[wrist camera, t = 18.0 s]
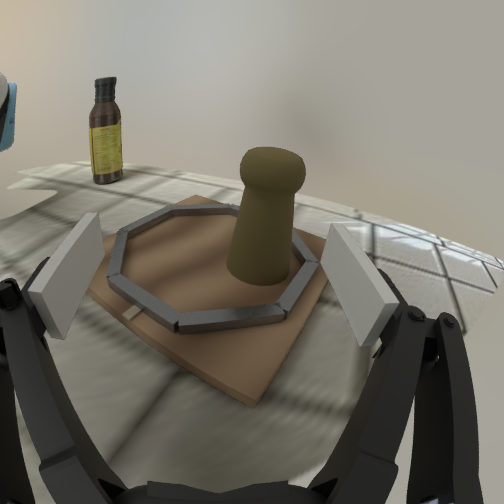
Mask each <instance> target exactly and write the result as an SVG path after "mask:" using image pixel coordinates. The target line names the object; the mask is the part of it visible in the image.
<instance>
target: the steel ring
mask: <svg viewBox="0 0 504 504" xmlns="http://www.w3.org/2000/svg"><path fill="white" fill-rule="evenodd" d="M239 209H240V206H237V205H234V204H232V205H230V204H197V205H171V206H170V207H168V206H167V207H164V208H162V209H160V210H158V211H156V212H154V213H152V214H150V215H148V216H145V217H143V218H141V219H139V220H137V221H135V222H133V223H131V224H129V225H127V226H125V227H123V228H121V229H119V230H120V231H118V232H117V235H116V239H115V242H114V246H113V250H112V254H111V258H110V262H109V266H108V270H107V274H106V278H107V282H108V285H109V288H110V289H112V290H113V291H114V292H115V293H117V294H118V295H119V296H121V297H122V298H123V299H125V300H126V301H127V302H129V303H130V304H132V305H135V306H137V307H138V308H139V309H141V312H143V313H144V314H146V315H147V316H149V317H150V318H151V319H153V320H154V321H156V322H157V323H159V324H160V325H162V326H163V327H165V328H166V329H168V330H169V331H171V332H173V333H174V334H175V333H176V332H177V331H178V330H179V332H180V335H186V334H197V333H207V332H216V331H225V330H234V329H241V328H249V327H256V326H263V325H270V324H277V323H282V321H283V319H284V320H287V318H288V317H289V315H290V313H291V312H292V310H293V309H294V307H295V306H296V304H297V302H298V301H299V299H300V298H301V296H302V295H303V293H304V291H305V290H306V288H307V287H308V285H309V283H310V282H311V280H312V278H313V277H314V275H315V273H316V272H317V268H318V265H319V263H318V260H317V259H316V257H315V256H314V255H313V253H312V252H311V251H310V250H309V248H308V247H307V246H306V245H305V243H304V242H303V241H302V239H301V238H300V237H299V236H298V234H297V233H296V232H295V231H294V229H293V230H292V245H291V250H292V252H293V253H294V255H295V256H296V258H297V259H298V261H299V262H300V263H301V265H302V268H301V269H300V270H299V272H298V273H297V275H296V276H295V277H294V279H293V280H292V281H291V283H290V284H289V286H288V287H287V288H286V290H285V291H284V292H283V294H282V295H281V296H280V298H279V299H278V301H277V302H276V303H271V304H263V305H255V306H246V307H237V308H228V309H218V310H207V311H196V312H184V313H181V312H179V311H178V310H176V309H174V308H173V307H171V306H169V305H168V304H166V303H164V302H163V301H161V300H160V299H158V298H156V297H155V296H153V295H152V294H150V293H149V292H147V291H145V290H144V289H142V288H141V287H139V286H138V285H136V284H135V283H133V282H132V281H130V280H129V279H127V278H126V277H124V276H123V270H124V264H125V258H126V253H127V247H128V242H129V240H130V239H132V238H134V237H135V236H137V235H139V234H141V233H143V232H145V231H147V230H148V229H150V228H152V227H154V226H156V225H158V224H160V223H162V222H164V221H166V220H168V219H170V218H171V217H180V216H205V215H231V216H234V217H236V218H237V217H238V213H239Z"/></svg>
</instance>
